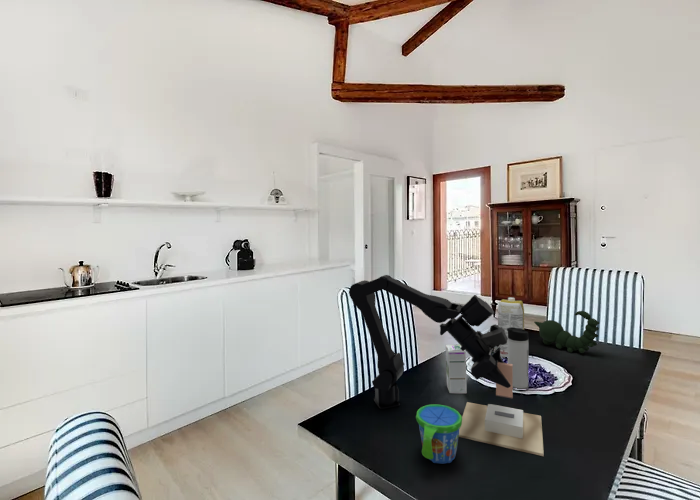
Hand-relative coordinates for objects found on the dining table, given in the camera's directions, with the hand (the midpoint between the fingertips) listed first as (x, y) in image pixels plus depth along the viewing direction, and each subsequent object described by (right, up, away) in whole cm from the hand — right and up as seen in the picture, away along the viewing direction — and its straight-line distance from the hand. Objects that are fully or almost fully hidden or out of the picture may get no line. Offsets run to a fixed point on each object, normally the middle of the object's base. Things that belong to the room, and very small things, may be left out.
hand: (510, 381), depth 94 cm
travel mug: (+13, -11, +24) cm, 30 cm away
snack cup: (-21, -15, -9) cm, 27 cm away
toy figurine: (+49, -7, +57) cm, 75 cm away
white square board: (-1, -13, +2) cm, 13 cm away
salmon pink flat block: (-1, -4, +1) cm, 4 cm away
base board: (-1, -13, +2) cm, 13 cm away
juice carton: (+23, -9, +51) cm, 57 cm away
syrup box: (-7, -12, +24) cm, 28 cm away
